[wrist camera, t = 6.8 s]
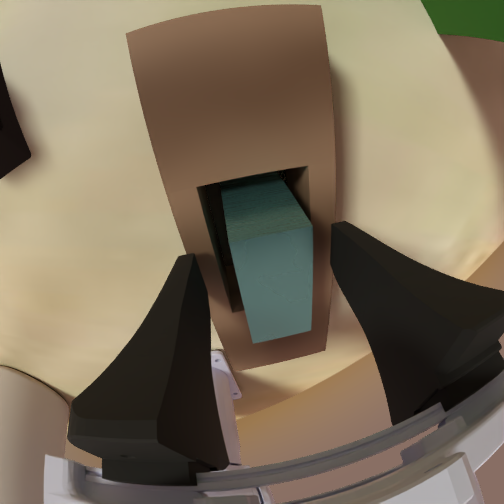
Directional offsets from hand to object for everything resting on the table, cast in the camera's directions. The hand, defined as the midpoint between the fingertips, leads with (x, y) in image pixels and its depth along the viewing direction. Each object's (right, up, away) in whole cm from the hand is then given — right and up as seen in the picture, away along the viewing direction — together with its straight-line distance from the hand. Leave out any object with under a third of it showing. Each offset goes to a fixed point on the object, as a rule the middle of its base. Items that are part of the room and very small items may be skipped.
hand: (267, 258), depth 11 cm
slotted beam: (-1, +2, +3) cm, 4 cm away
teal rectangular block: (-1, +2, +3) cm, 4 cm away
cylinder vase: (-30, -17, +13) cm, 36 cm away
